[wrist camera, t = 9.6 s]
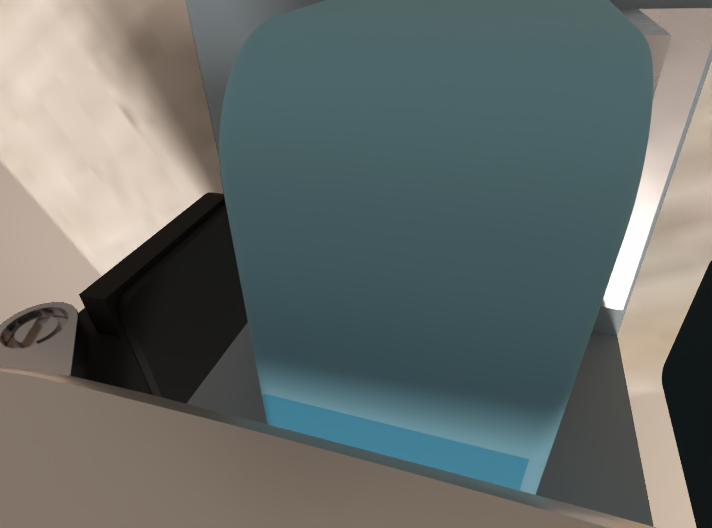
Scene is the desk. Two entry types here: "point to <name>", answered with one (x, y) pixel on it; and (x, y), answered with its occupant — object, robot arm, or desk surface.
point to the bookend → (661, 119)
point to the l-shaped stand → (601, 358)
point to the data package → (432, 217)
